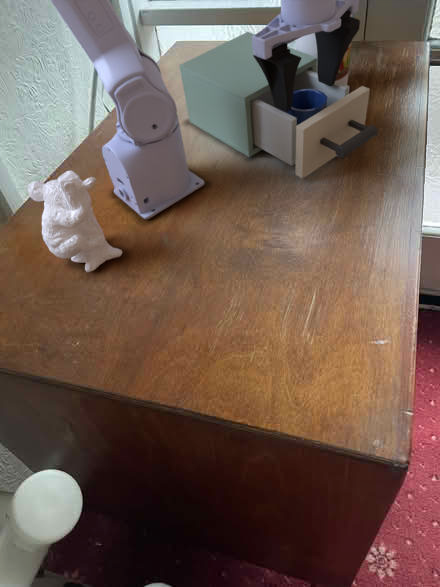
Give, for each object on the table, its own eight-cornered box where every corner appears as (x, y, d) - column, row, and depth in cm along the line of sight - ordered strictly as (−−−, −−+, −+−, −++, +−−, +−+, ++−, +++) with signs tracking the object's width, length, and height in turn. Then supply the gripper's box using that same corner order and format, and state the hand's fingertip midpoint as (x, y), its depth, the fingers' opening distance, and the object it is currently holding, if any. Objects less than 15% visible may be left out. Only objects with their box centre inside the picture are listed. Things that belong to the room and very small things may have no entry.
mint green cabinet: (314, 118, 67) (317, 57, 60) (249, 157, 63) (244, 97, 56) (251, 88, 74) (247, 31, 67) (189, 122, 70) (179, 65, 63)
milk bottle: (297, 104, 70) (300, -57, 54) (294, 78, 74) (296, -75, 59) (350, 99, 69) (368, -65, 53) (343, 74, 74) (358, -83, 58)
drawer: (387, 149, 59) (397, 99, 54) (325, 192, 55) (330, 142, 50) (294, 106, 68) (295, 59, 62) (236, 140, 64) (231, 93, 59)
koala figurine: (138, 244, 55) (107, 157, 45) (109, 286, 51) (69, 201, 42) (79, 230, 57) (39, 146, 48) (48, 269, 54) (-3, 186, 44)
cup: (305, 152, 59) (306, 116, 55) (276, 136, 62) (275, 101, 58) (333, 134, 60) (336, 98, 56) (303, 120, 63) (304, 84, 59)
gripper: (285, -2, 42) (285, 133, 52) (389, -50, 46) (370, 82, 57) (234, -17, 45) (244, 111, 56) (335, -61, 50) (326, 65, 61)
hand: (305, 95), depth 57 cm, fingers open, 7 cm apart
